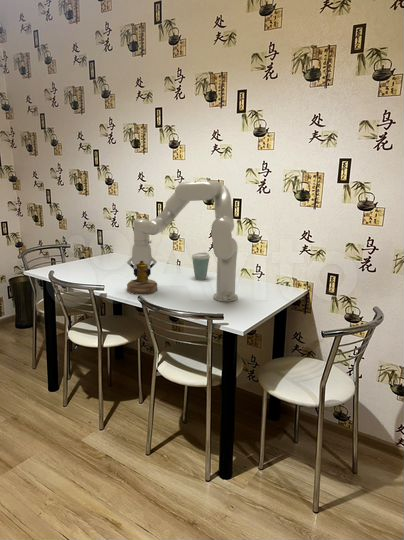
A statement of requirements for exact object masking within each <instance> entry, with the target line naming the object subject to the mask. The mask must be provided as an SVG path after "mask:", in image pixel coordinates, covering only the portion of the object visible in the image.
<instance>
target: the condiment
mask: <svg viewBox="0 0 404 540" xmlns="http://www.w3.org/2000/svg"><path fill="white" fill-rule="evenodd" d="M136 270H137V277H136V279H131V280H130V281H133V282H134V283H136V284H138V283H145V282H151V281H149V280H148V279H149V277H148V266H147V264H144V262H143V261H140V263H139V264H137V266H136Z"/></svg>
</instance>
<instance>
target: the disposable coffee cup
mask: <svg viewBox="0 0 404 540" xmlns="http://www.w3.org/2000/svg"><path fill="white" fill-rule="evenodd" d="M209 254H210V253H209V252H196V253H193V255H192V256H191V259H192V265H193V266H192V267H193V271H194V279H195V280H199V281H204V280H206V278H207V276H208V268H209V262H210V259H211V258H210V257H211V256H210V255H209Z"/></svg>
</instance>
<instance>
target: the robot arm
mask: <svg viewBox="0 0 404 540" xmlns="http://www.w3.org/2000/svg"><path fill="white" fill-rule="evenodd" d="M212 199H213V201H214V206H213V207H214V208H213V209H214V213H215V215H214V217H215V219H214V220H213V222H212V224H211V228H210V229H211V230H210V231H211V240H212V248H213V249H212V250H213V253H214V256H215V257H216V258H217V262H216V263H217V264H216V290H215V291H216V293H213V295H212V296H213V299H214V300H216V301H218V302H224V303H225V302H226V303H228V302H229V303H230V302H234V301H237V300H238V298H239V296H238V294H236V280H237V279H236V278H237V276H236V273H237V257H238V256H237V255H238V243H237V241H236V240H235V238H234V237H233V236H232V232H233V231H234V228H235V222H234V221H235V220H234V214H233V204H232V197H231V194H230V191H229V189H228V188H227V186H226V185H225V184H224V183H222V182H220V181H217V180H208V181H200V182H199V181H197V182H191V181H184V182H181V183H179V184H178V185H177V186H176V187H175V190H174V193H172V194H171V196H170V197H169V198H168V199H167V200H166V201H165V206H164V209H163V210H162V211H161V212H160V213H159V214H158V216H156V217H155V218H154V219H150V220H148V219H145V218H137V219H134V220H133V245H132V249H131V257H130V258H129V259H128V261H127V262H126V263H127V265H129V266H130V267H131V269H132V270H133V275H134V277H135V278H137V270H136V266H137V264H139V263H140V261H143V262H144V264H147V266H148V278H149V277H150V276H151V274H152V273H151V270H152V268H153V267H154V266H155V265H157V260H156V259H155V258H153V257H152V256H153V255H152V247H151V244H152V240H150V237H149V235H150V236H156V235H158V234H161V233H162V232H164V231H165V230H166V229H167V228H168V227H169V226H170V225H171V224H172V222H174V221H175V219H176V218H177V217H178V215H180V213H181V212H182V211H183V209H184V208H186V206H188V204H189V203H190V202H191V201H193V202H194V201H196V202H197V201H209V200H212Z"/></svg>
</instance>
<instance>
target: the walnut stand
mask: <svg viewBox="0 0 404 540" xmlns="http://www.w3.org/2000/svg"><path fill="white" fill-rule="evenodd" d="M148 280H149V281H151V282H145V283H138V284H136V283H134V282H133V281H131V280H130V281H129V282H128V283H126V288H127V289H126V291H127V293H129V292H130V293H129V294H131V293H133V294H132V295H136V294H146V295H151V293H152V294H155V293H156V292H157V291H158V283H157V282H156V281H155V280H153V279H149V278H148Z"/></svg>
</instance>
